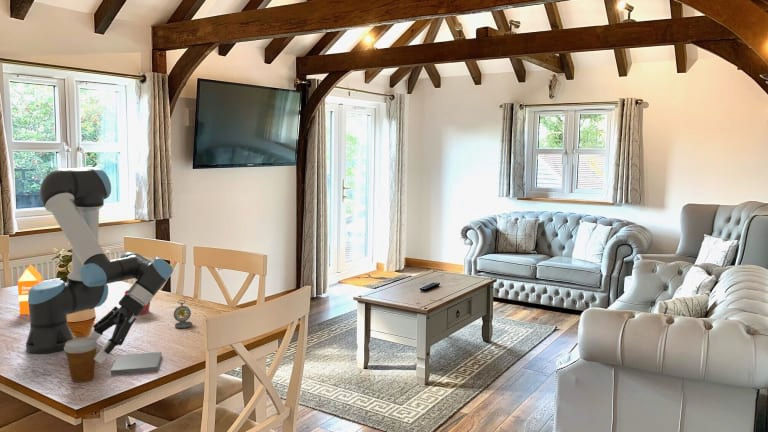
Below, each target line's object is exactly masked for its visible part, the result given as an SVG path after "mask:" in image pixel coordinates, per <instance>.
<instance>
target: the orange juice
mask: <svg viewBox="0 0 768 432" xmlns="http://www.w3.org/2000/svg"><path fill="white" fill-rule="evenodd" d="M42 282H43V276H42V275H41V274H40V272H39V271H38V270H37V269H36V268H35V267H34V266H33V265H32V264H30V265H29V266H28V267H27V268H26V269H25V270H24V272H23V273H22V275H21V276H20V277H19V278H18V280H17V290H18V292H17V293H18V306H19V315H20V314H27V313H29V303H28V292H29V290H30V288H31V287H33V286H34V285H36V284H39V283H42Z"/></svg>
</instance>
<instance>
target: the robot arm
mask: <svg viewBox="0 0 768 432" xmlns="http://www.w3.org/2000/svg"><path fill="white" fill-rule="evenodd" d="M39 189H40V191H39V192H40V193H39V195H40V200H41V203H42V206H43V207H44V208H45V210H46V211H47V212H49V213H51V214H52V216H53V217H54V219H55V220H56V222H57V224H58V226H59V227H60V229H61V231H62V232H63V234H64V235H65V238H67V240H68V242H69V244H70V247H72V248H71V249H72V250H71V251H72V254H71V257H72V258H71V271H70V272H69V273H68V274H67V278H66V279H67V280H66V282H65V281H64V280H62V279H52V280H46V281H42V283H39V284H36V285H34V286H33V287H31V288H30V290H29V292H28V303H29V314H28V315H29V324H30V325H29V326H30V327H29V328H30V329H29V332H28V335H27V338H26V339H27V340H26V343H25V349H26V351H27V352H28V353H30V354H50V353H55V352H60V351H65V350H64V347H65V343H66V342H68V341H70V340H73V339H75V338H74V335H73V333H72V330H71V329H70V327H69V324H68V315H70V314H74V313H75V314H76V313H78V312H83V311H87V310H93V309H94V308H97V307H98V308H99V307H101V306H102V305H103V304H104V303H105V302H106V301H107V300H108V295H109V286H108V284H113V283H117V282H123V281H127V280H131V279H135V280H136V281H135V282H134V283H133V284H132V285H131V286H130V287H129V289H127V290H128V291H127V290H126V291H127V293H128V294H127V295H125V294H124V295H123V296H122V297H121V299H120V300H119V301H118V305H119V306H120V307H118V306H114V307H112V309H111V310H110V311H109V312H108V313H107V314H105V315H104V316H103V317H102V318H101V319H99V320H98V321H97V322H96V323H95V324H94V325H93V326H92V328H93V331H92V332H91V333H90V335H89V336H88V338H94V339H96V342H97V341H98V340H99V339H100V337H101V336H103V333H104V332H106V331H107V330H109V329H110V328H111V327H113V326H115V327H114V330H113V333H112V336H111V338H109V339H108V340H107V341H106V343H105V344H104V346H103V347H102V348H101V349H100V350H99V351H98V353H96V356H95V358H94V359H95V362H98V363H99V364H102V363H104V362H105V360H106V359H107V358H108V357H109V356H110V354H111V353H112V351H113V350H114V348H115V347H118V346H120V347H121V346H122V345H123V343H124V341H125V339H126V337H127V335H128V334H129V331H130V330H131V328H132V326H133V324H134V323H135V321H136V320H137V318H135V317H138V316H139V314H140V313H141V311H142V310H143V309H144V307H143V306H144V305H147V304H148V303H149V301H150V302H151V301H152V299H153V298H154V297H155V295H156V294H157V293H158V292H159V290H160V289H161V288H162V287H163V286H164V285H165V284H166V282H167V281H168V280H169V278H170V277H171V275H172V274H173V272H174V268H173V266H172V265H171V264H169V263H168V262H167V261H165V260H164V259H162V258H161V257H155V258H154V259H153V260H149V259H147V258H146V257H144V256H143V255H141V254H138V253H136V252H133V251H127V252H124V254H122V255H121V256H120V258H114V259H109V257H108V256H107V254H106V253H105V251H104V250H103V248H102V246H101V245H100V243H99V228H100V227H99V226H100V225H99V223H100V222H99V221H100V220H99V219H100V209H101V208H103V206H104V203H105V202H104V201H105V200H106V199H108V198H109V197H110V195H111V193H112V184H111V180H110V178H109V176H108V174H107V173H106V171H105V170H103V169H101V168H100V167H99V168H98V167H78V168H77V167H76V168H75V167H74V168H59V169H56V170H53V171H51V172H49V173H48V174H47V175H46V176H45V177H44V179H43V180H42V182H41V185H40V188H39ZM133 314H134V315H133Z"/></svg>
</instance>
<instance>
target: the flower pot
mask: <svg viewBox="0 0 768 432" xmlns="http://www.w3.org/2000/svg"><path fill="white" fill-rule="evenodd" d="M128 290H129V289H127V290H125V291H124V295H127V294H128V293H127V291H128ZM150 306H151V301H149V303H148V304H147V305H144V306H143V307H144V309H143V310H142V311H141V313H140V314H139V315H140V316H141V315H146V314H148V313H149V312H150ZM139 315H138V316H139ZM133 316H135V315H134V314H133Z"/></svg>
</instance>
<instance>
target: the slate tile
mask: <svg viewBox="0 0 768 432" xmlns="http://www.w3.org/2000/svg"><path fill="white" fill-rule="evenodd" d="M161 359H162V351H157V352H156V351H155V352H144V353H143V352H141V353H131V354H130V353H129V354H118V355H117V356H116V359H115V361H114V362H113V366H112V367H111V369H110V376H111V375H112V376H113V375H116V376H117V375H125V374H126V375H128V374H138V373H150V372H158V370H159V366H160V363H161Z"/></svg>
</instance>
